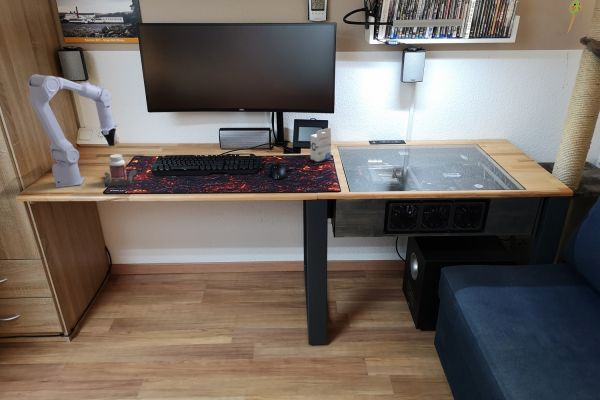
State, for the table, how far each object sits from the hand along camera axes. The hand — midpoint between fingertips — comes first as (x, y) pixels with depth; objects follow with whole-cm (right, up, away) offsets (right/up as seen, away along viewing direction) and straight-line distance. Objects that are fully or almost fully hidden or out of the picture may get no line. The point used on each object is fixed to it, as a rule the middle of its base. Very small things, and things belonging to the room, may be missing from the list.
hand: (111, 145), depth 198 cm
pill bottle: (+9, -17, -13) cm, 23 cm away
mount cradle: (+9, -16, -12) cm, 22 cm away
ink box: (+95, -5, +8) cm, 95 cm away
